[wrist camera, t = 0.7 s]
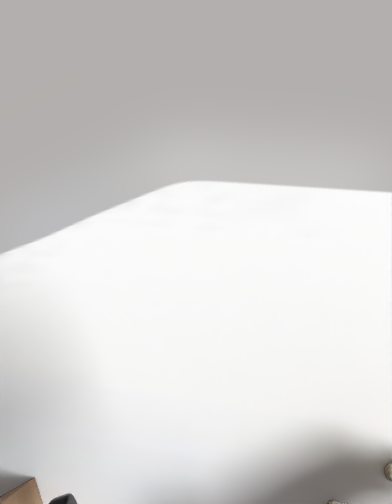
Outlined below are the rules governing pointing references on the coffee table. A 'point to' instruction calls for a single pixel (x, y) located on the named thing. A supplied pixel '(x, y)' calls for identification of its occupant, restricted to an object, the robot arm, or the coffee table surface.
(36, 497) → the socket
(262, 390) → the coffee table surface
